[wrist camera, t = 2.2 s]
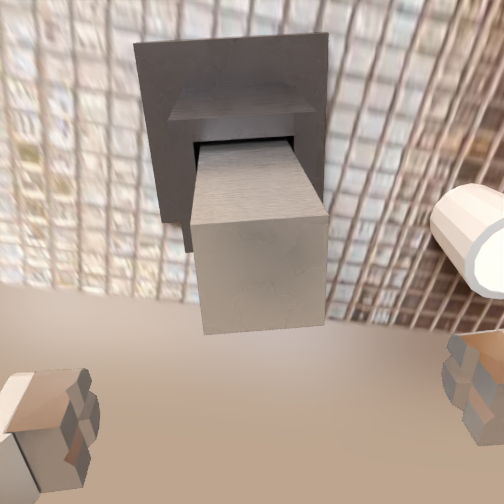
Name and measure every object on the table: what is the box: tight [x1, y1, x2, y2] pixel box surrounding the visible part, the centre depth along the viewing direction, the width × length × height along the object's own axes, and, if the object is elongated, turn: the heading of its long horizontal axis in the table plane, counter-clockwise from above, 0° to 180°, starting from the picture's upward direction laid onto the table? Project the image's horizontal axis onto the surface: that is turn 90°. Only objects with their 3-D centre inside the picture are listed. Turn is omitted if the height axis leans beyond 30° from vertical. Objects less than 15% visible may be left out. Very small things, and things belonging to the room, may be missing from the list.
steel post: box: [190, 136, 329, 335], centre depth 21 cm, size 4×4×18 cm
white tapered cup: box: [430, 183, 504, 299], centre depth 32 cm, size 7×7×7 cm
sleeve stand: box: [133, 32, 329, 253], centre depth 25 cm, size 12×12×12 cm
